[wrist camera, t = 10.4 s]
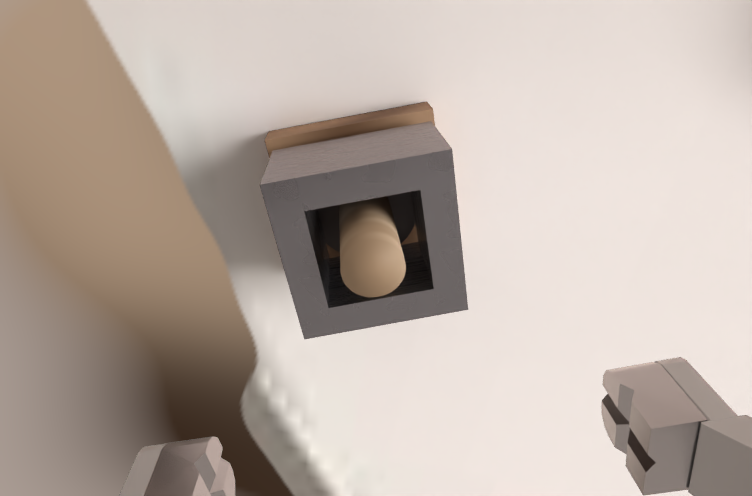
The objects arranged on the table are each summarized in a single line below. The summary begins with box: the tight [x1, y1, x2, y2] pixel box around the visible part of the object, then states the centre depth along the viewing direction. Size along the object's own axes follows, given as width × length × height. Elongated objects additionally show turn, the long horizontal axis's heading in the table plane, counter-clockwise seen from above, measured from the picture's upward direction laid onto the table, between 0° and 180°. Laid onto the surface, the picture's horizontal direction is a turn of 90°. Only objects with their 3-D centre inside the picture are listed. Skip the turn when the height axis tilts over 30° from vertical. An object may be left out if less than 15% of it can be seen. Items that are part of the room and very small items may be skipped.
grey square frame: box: [260, 121, 468, 339], centre depth 20 cm, size 6×6×4 cm
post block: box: [265, 102, 435, 297], centre depth 20 cm, size 7×7×8 cm
